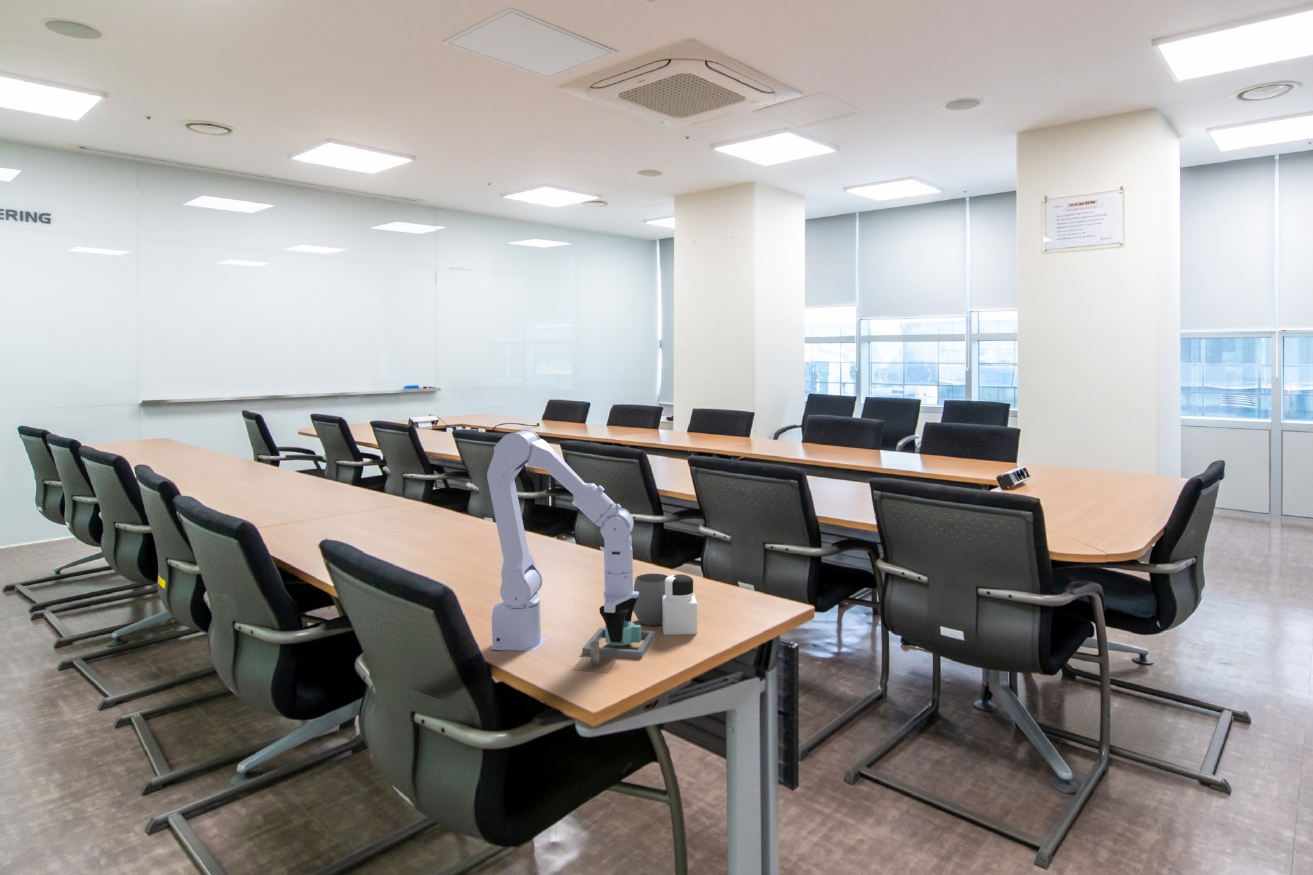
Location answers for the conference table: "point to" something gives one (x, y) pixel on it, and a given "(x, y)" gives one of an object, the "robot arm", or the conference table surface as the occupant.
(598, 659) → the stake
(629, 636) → the ring
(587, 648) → the tray
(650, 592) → the cup
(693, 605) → the medicine bottle
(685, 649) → the conference table surface
